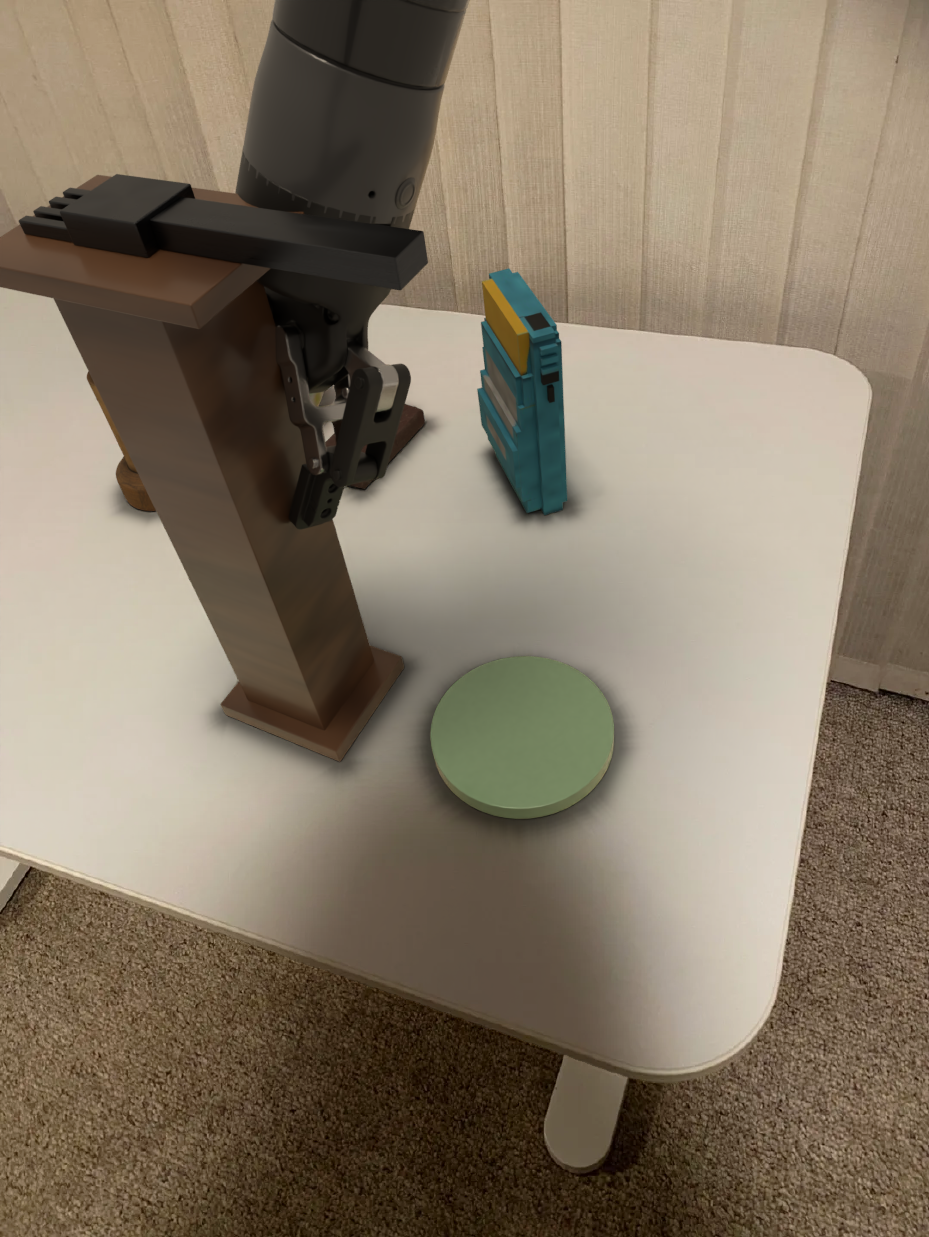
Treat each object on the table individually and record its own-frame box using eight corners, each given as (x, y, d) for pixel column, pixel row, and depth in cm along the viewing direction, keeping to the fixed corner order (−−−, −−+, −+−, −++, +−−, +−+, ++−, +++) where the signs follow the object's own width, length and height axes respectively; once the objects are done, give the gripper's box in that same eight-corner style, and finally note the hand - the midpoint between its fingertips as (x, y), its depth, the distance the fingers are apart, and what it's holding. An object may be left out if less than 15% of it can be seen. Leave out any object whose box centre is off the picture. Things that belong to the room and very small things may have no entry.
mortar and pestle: (175, 517, 74) (80, 314, 60) (110, 504, 76) (3, 304, 62) (218, 465, 78) (137, 263, 64) (154, 454, 80) (64, 256, 66)
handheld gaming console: (574, 510, 69) (568, 332, 58) (522, 525, 69) (506, 349, 57) (530, 436, 75) (517, 263, 64) (482, 449, 75) (461, 278, 64)
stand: (360, 770, 56) (190, 305, 33) (207, 707, 60) (-37, 260, 37) (424, 674, 60) (314, 203, 37) (277, 622, 65) (97, 174, 42)
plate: (570, 847, 51) (569, 837, 50) (400, 778, 55) (396, 767, 54) (640, 699, 57) (641, 687, 56) (482, 647, 61) (481, 635, 60)
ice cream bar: (328, 529, 71) (430, 418, 79) (324, 514, 69) (428, 402, 77) (275, 511, 73) (380, 404, 81) (270, 495, 72) (376, 388, 79)
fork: (390, 301, 31) (383, 263, 30) (21, 236, 38) (5, 202, 37) (438, 253, 33) (433, 215, 32) (77, 199, 40) (63, 166, 39)
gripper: (167, 87, 40) (131, 407, 50) (365, 252, 34) (278, 576, 44) (309, 103, 44) (249, 391, 55) (502, 250, 39) (395, 541, 49)
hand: (262, 473), depth 49 cm, fingers open, 8 cm apart
